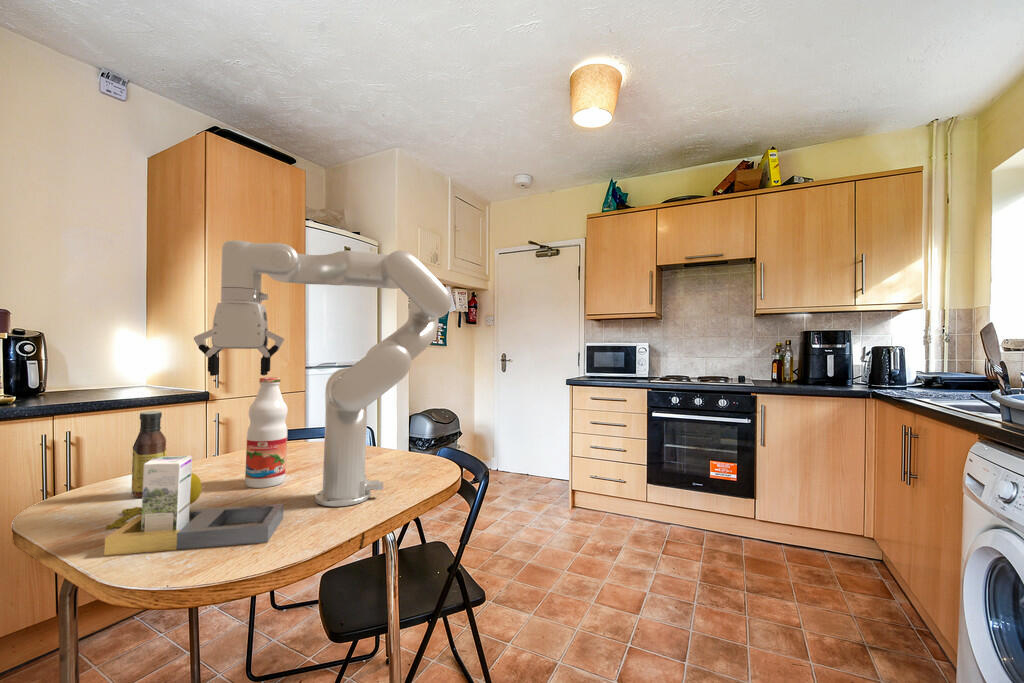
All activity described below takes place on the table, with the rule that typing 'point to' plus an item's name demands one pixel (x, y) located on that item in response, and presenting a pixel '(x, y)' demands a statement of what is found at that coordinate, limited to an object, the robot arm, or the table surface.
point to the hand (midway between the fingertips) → (239, 375)
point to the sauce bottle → (146, 447)
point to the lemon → (195, 488)
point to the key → (125, 517)
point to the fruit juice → (267, 437)
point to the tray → (200, 530)
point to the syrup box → (166, 493)
